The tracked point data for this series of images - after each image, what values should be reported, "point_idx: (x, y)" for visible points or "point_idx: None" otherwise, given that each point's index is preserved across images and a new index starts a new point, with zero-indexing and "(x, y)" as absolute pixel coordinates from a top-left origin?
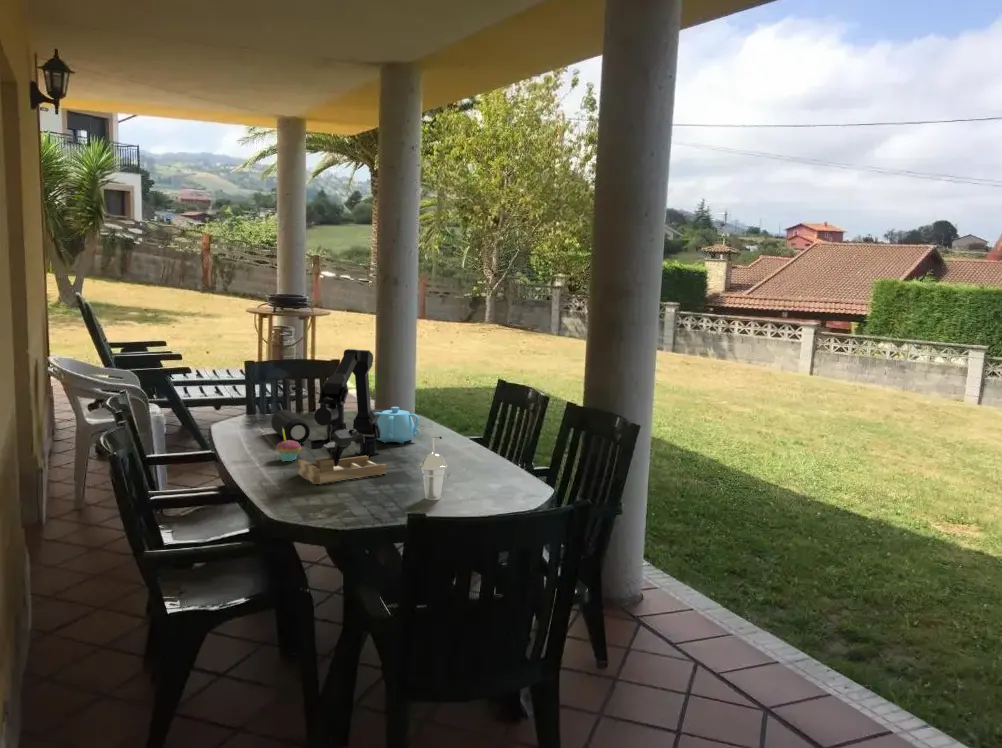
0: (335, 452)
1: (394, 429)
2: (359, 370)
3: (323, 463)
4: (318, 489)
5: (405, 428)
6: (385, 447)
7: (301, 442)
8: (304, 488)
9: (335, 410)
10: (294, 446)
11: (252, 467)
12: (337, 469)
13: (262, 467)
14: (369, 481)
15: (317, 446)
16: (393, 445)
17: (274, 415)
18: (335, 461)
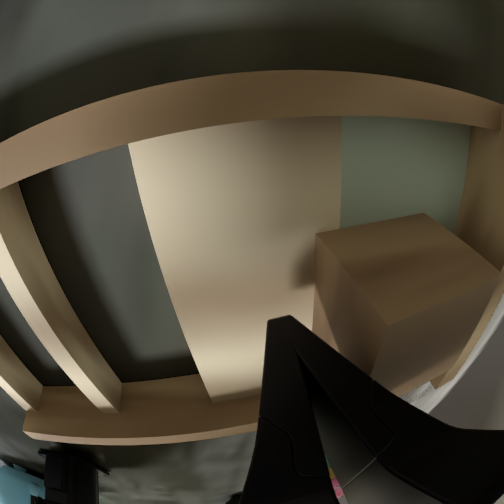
0: (382, 452)
1: (25, 499)
2: None
3: (469, 269)
4: (460, 6)
5: (3, 491)
6: (41, 467)
7: (239, 499)
8: (497, 77)
9: None
10: (336, 483)
11: (429, 392)
12: (245, 308)
13: (416, 394)
14: (28, 11)
15: None
16: (28, 466)
17: None
18: (312, 350)
